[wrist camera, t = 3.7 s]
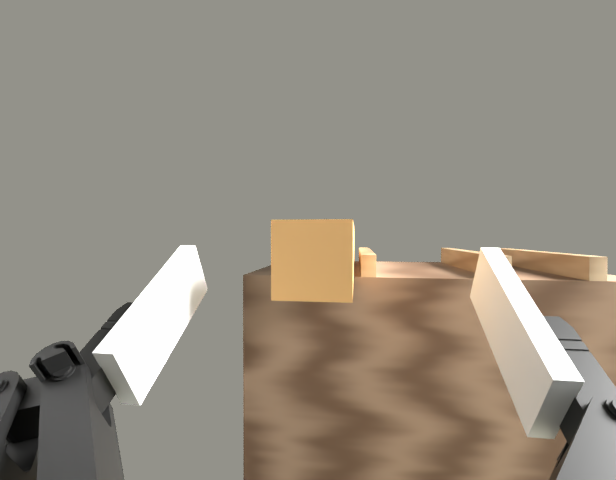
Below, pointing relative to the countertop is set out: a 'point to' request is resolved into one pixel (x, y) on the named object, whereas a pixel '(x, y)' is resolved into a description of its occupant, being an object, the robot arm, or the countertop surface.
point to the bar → (312, 260)
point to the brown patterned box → (405, 371)
